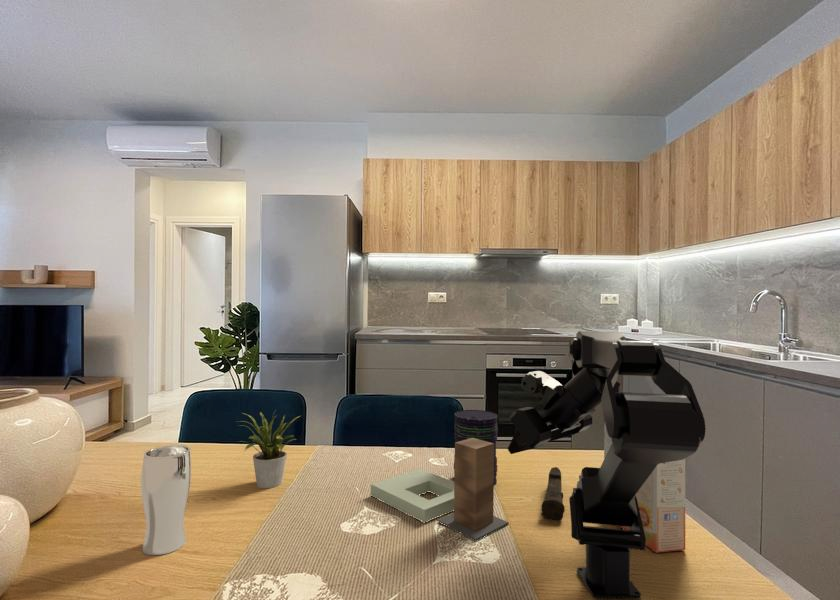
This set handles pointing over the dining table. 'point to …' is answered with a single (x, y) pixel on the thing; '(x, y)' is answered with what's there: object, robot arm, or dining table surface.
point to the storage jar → (477, 429)
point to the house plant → (269, 452)
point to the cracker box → (661, 504)
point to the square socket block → (416, 494)
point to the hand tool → (553, 497)
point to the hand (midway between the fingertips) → (524, 446)
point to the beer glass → (165, 497)
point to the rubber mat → (471, 533)
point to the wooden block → (474, 483)
